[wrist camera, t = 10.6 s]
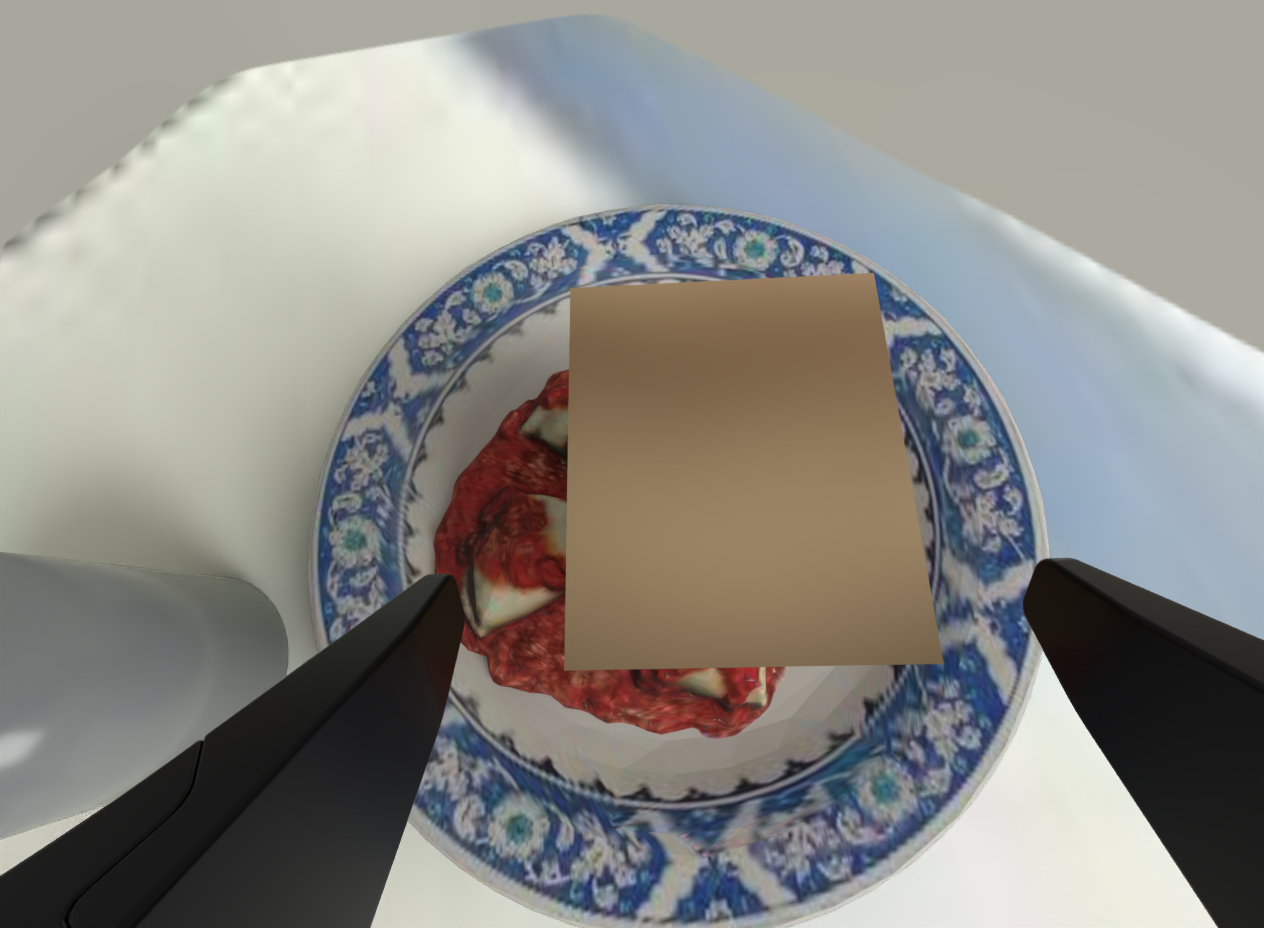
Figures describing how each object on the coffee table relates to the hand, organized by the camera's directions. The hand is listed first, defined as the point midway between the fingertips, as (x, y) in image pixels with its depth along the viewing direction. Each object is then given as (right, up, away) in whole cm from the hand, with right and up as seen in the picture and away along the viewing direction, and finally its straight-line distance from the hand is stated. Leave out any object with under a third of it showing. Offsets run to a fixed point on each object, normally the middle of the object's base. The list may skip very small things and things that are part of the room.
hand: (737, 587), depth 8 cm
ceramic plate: (0, 0, +13) cm, 13 cm away
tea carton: (0, -1, +9) cm, 9 cm away
